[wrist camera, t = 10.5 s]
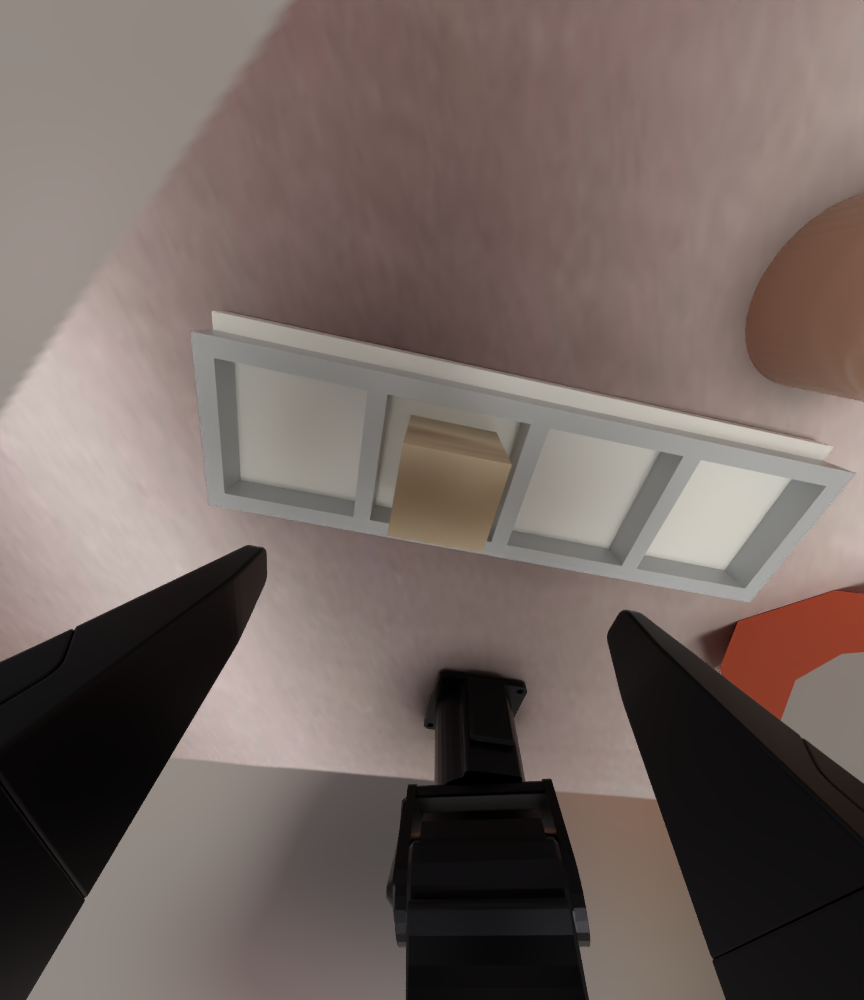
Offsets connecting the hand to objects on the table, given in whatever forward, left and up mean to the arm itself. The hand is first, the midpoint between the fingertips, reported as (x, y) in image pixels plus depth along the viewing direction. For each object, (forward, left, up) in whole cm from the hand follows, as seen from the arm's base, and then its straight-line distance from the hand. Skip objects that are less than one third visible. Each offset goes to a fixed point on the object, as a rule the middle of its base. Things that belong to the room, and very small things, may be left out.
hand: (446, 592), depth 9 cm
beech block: (0, 0, -9) cm, 9 cm away
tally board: (0, -4, -10) cm, 11 cm away
